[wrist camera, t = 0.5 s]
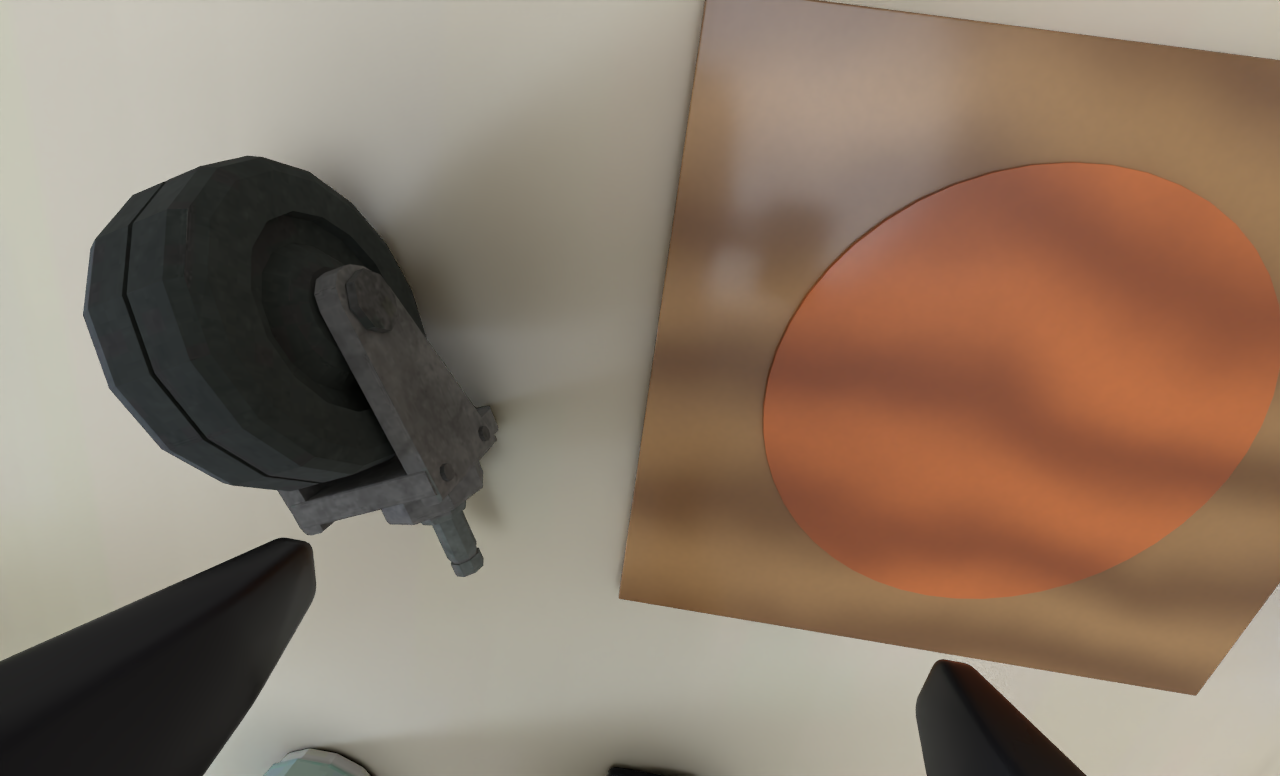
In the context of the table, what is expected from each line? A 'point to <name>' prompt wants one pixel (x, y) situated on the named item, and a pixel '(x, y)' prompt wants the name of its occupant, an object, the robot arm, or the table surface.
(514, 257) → the table surface
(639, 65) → the table surface
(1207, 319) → the wooden board
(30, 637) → the table surface
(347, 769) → the disposable coffee cup
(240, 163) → the caster wheel
